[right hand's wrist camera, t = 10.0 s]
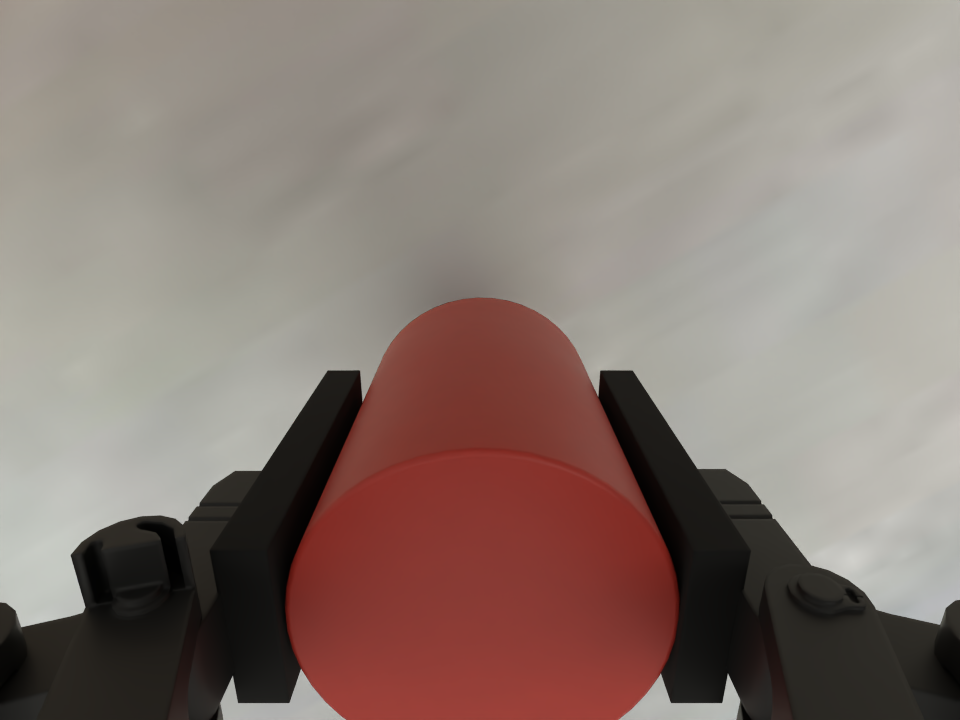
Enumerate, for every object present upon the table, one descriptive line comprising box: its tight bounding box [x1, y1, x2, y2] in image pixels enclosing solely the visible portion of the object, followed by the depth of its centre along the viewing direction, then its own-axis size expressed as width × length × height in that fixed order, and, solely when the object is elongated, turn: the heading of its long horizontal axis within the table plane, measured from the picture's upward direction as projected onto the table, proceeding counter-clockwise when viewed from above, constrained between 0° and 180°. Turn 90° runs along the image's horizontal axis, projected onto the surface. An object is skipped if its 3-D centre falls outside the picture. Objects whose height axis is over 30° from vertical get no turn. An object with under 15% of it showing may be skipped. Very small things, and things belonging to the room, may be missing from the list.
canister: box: [285, 298, 680, 720], centre depth 12 cm, size 6×6×8 cm
